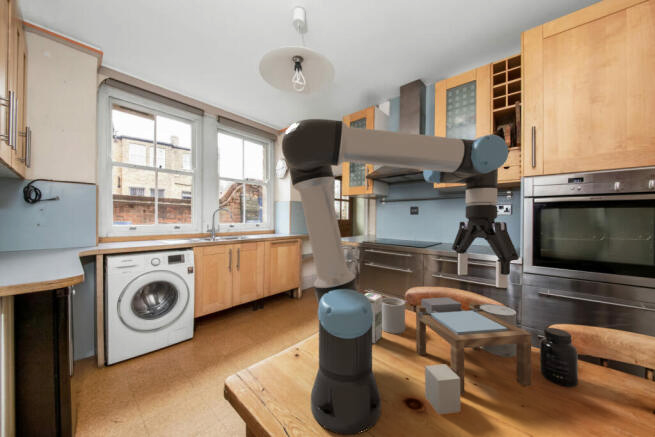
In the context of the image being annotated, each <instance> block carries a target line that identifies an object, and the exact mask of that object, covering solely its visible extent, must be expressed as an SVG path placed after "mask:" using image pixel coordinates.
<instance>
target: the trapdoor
mask: <svg viewBox="0 0 655 437" xmlns="http://www.w3.org/2000/svg"><path fill="white" fill-rule="evenodd" d="M420 304H421V305H422V306H424V307H425V308H426V312H427V313H428V315H430V316H431V317H433V318H434V319H435V320H437V321H438V322H440V323H441V324H443V325H444V326H445V327H447V328H448V329H450V330H451V331H453V332H454V333H455V334H457V335H469V334H482V333H494V332H507V328H506V327H504V326H502V325H500V324H498V323H496V322H494V321H492V320H490V319H488V318H486V317H484V316H482V315H480V314H478V313H476V312H474V311H469V310H464V309H462V302H459V301H457V300H455V299H453V298H451V297H434V298H433V297H432V298H431V297H430V298H421V302H420ZM421 305H420V306H421Z"/></svg>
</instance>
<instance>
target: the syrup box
mask: <svg viewBox="0 0 655 437" xmlns="http://www.w3.org/2000/svg"><path fill="white" fill-rule="evenodd" d="M364 295H365V296H366V297H367V298H368V299H369V300H370V302H371V306H372V312H373V321H372V344H377V342H378V341H379V340H380V339H381V338H382V336H383V334H382V332H383V330H382V299H383V296H382V295H380V294H377V293H373V292H372V293H371V292H367V293H365V294H364Z"/></svg>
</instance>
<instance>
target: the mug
mask: <svg viewBox="0 0 655 437" xmlns="http://www.w3.org/2000/svg"><path fill="white" fill-rule="evenodd" d="M382 331H384V332H386V333H389V334H396V335H397V334H402V333H404V332H405V331H406V301H404V300H403V299H400V298H399V297H398V298H397V297H384V298H383V297H382Z"/></svg>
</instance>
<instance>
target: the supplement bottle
mask: <svg viewBox="0 0 655 437" xmlns="http://www.w3.org/2000/svg"><path fill="white" fill-rule="evenodd" d="M572 343H573V340H572V334H571V333H570V332H568V331H566V330H563V329H560V328H555V327H546V328H545V329H544V337H542V338H541V339H540V340H539V358H540V359H539V361H540V364H539V366H540V374H541V375H542V377H543V378H545V380H548V382H550V383H552V384H554V385H557V386H560V387H564V388H571V389H572V388H576V387H578V384H579V367H578V366H579V365H578V364H579V362H578V359H579V358H578V356H579V354H578V350H577V348H576V347H575V346H574V345H573V344H572Z"/></svg>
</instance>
